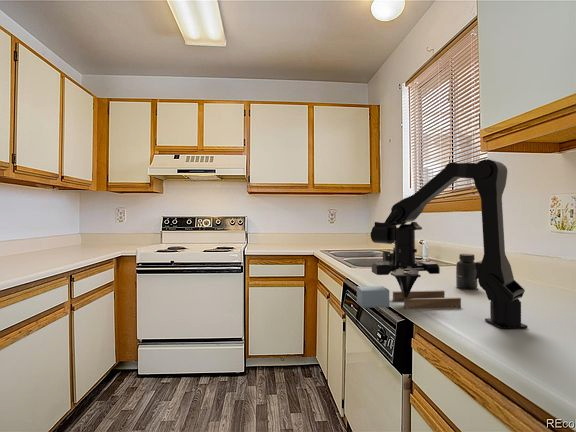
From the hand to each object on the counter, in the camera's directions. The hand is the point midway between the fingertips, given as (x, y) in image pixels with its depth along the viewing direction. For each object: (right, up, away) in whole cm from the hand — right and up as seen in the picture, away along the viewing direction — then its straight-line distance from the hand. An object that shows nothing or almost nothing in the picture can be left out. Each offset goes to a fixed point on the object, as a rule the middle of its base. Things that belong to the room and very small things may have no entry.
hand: (405, 297), depth 103 cm
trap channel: (+6, -2, 0) cm, 6 cm away
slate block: (-10, -2, -1) cm, 10 cm away
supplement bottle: (+29, -2, +21) cm, 36 cm away
